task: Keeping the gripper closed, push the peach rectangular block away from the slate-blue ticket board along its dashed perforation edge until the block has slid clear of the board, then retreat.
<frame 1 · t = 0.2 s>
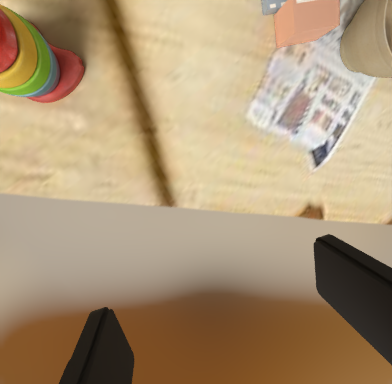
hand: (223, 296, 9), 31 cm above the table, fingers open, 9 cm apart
peach rectangular block: (305, 19, 32), point 3 cm above the table, slide at 0.0 cm
stacking bear: (41, 70, 31), on the table
planter bowl: (358, 45, 38), on the table
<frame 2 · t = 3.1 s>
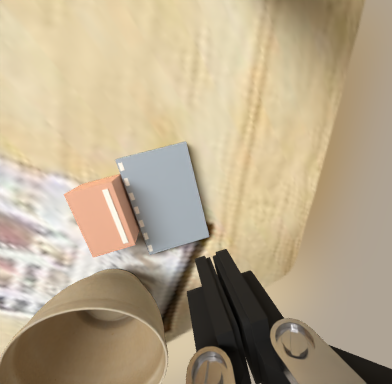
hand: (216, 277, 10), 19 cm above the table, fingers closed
peach rectangular block: (107, 213, 24), point 3 cm above the table, slide at 0.0 cm
ticket board: (166, 198, 27), on the table
planter bowl: (114, 292, 30), on the table
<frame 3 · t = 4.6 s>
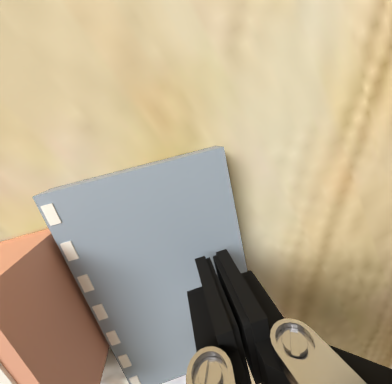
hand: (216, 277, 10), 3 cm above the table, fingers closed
peach rectangular block: (15, 339, 9), point 3 cm above the table, slide at 0.0 cm
ticket board: (171, 271, 12), on the table
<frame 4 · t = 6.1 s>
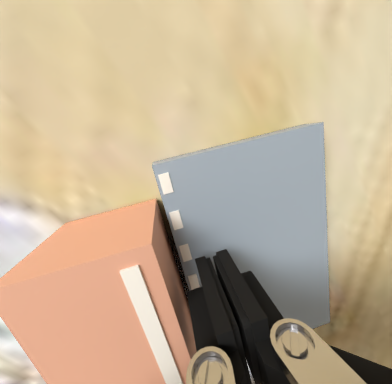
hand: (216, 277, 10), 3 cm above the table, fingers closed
peach rectangular block: (127, 302, 9), point 3 cm above the table, slide at 0.1 cm, touching gripper
ticket board: (249, 247, 13), on the table
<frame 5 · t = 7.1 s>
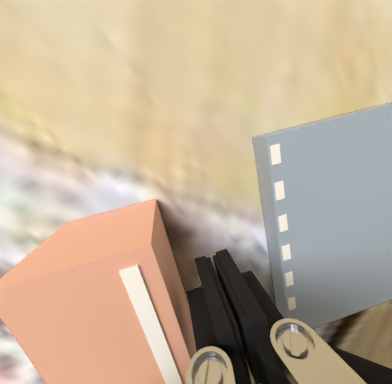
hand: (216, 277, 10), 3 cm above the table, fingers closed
peach rectangular block: (127, 303, 9), point 3 cm above the table, slide at 5.9 cm, touching gripper
ticket board: (326, 223, 13), on the table
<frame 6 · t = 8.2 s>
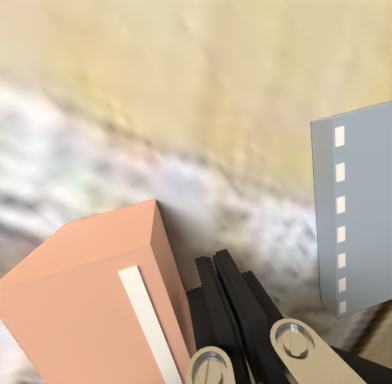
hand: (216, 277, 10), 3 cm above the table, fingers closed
peach rectangular block: (127, 303, 9), point 3 cm above the table, slide at 9.7 cm, touching gripper
ticket board: (372, 207, 14), on the table
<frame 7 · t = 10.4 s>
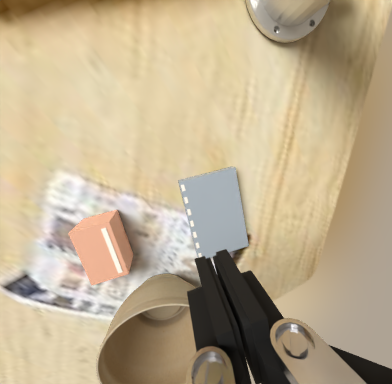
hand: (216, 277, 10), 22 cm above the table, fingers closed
peach rectangular block: (105, 245, 28), point 3 cm above the table, slide at 9.7 cm
ticket board: (214, 213, 32), on the table
planter bowl: (163, 294, 35), on the table
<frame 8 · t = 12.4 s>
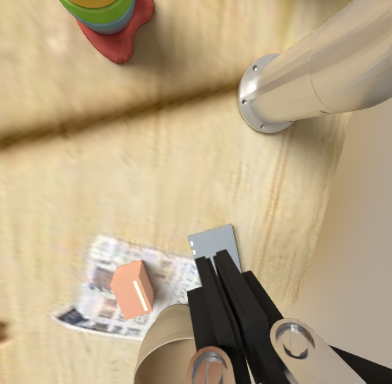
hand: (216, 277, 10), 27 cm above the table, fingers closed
peach rectangular block: (134, 288, 37), point 3 cm above the table, slide at 9.7 cm
ticket board: (215, 258, 41), on the table
stacking bear: (110, 14, 28), on the table
planter bowl: (176, 319, 44), on the table
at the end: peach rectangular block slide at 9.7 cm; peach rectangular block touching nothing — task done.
